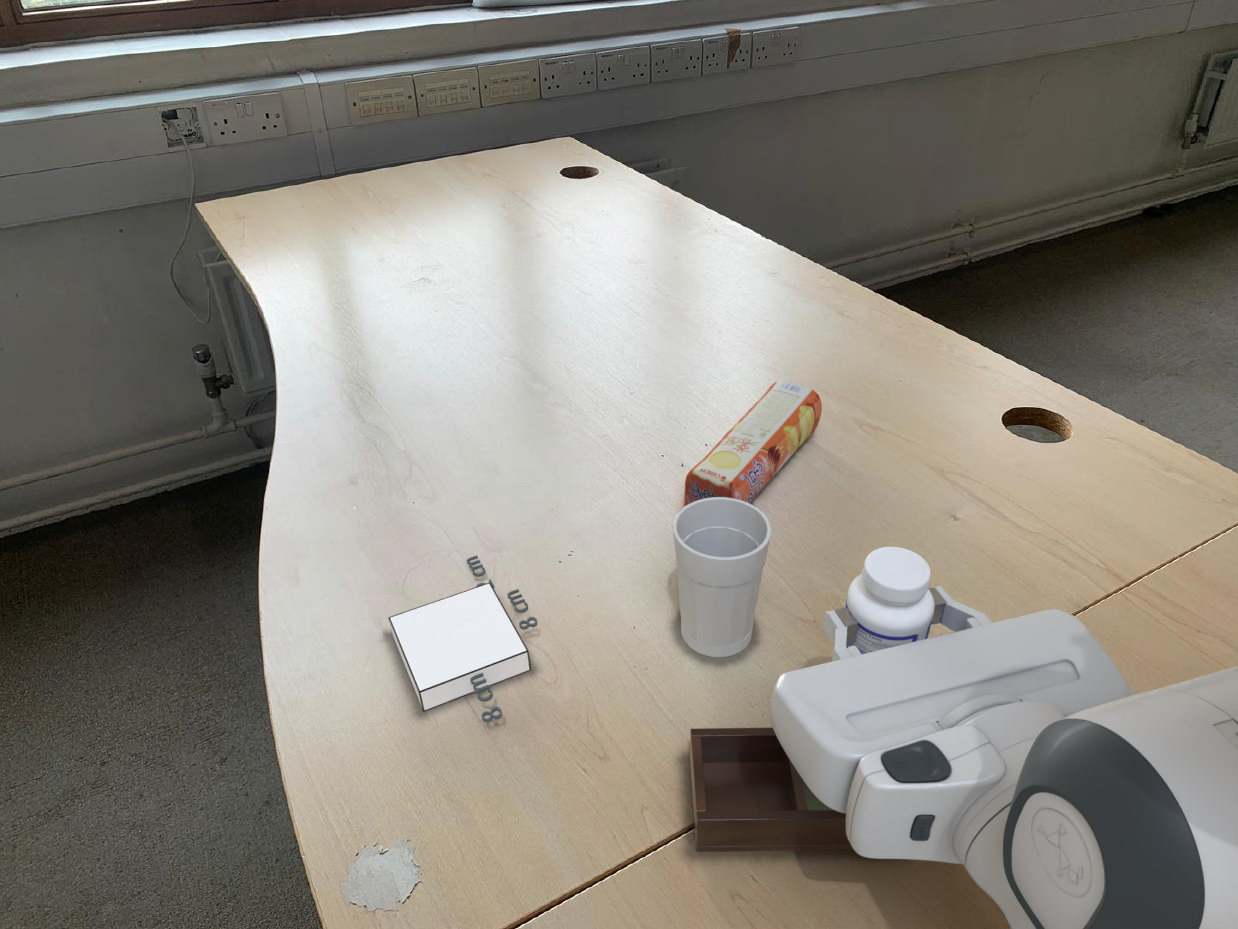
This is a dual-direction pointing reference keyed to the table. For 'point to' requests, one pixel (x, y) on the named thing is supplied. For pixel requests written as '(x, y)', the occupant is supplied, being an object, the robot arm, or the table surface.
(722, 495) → the snack package
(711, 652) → the cup
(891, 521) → the table surface
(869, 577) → the pill bottle
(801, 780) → the tray
